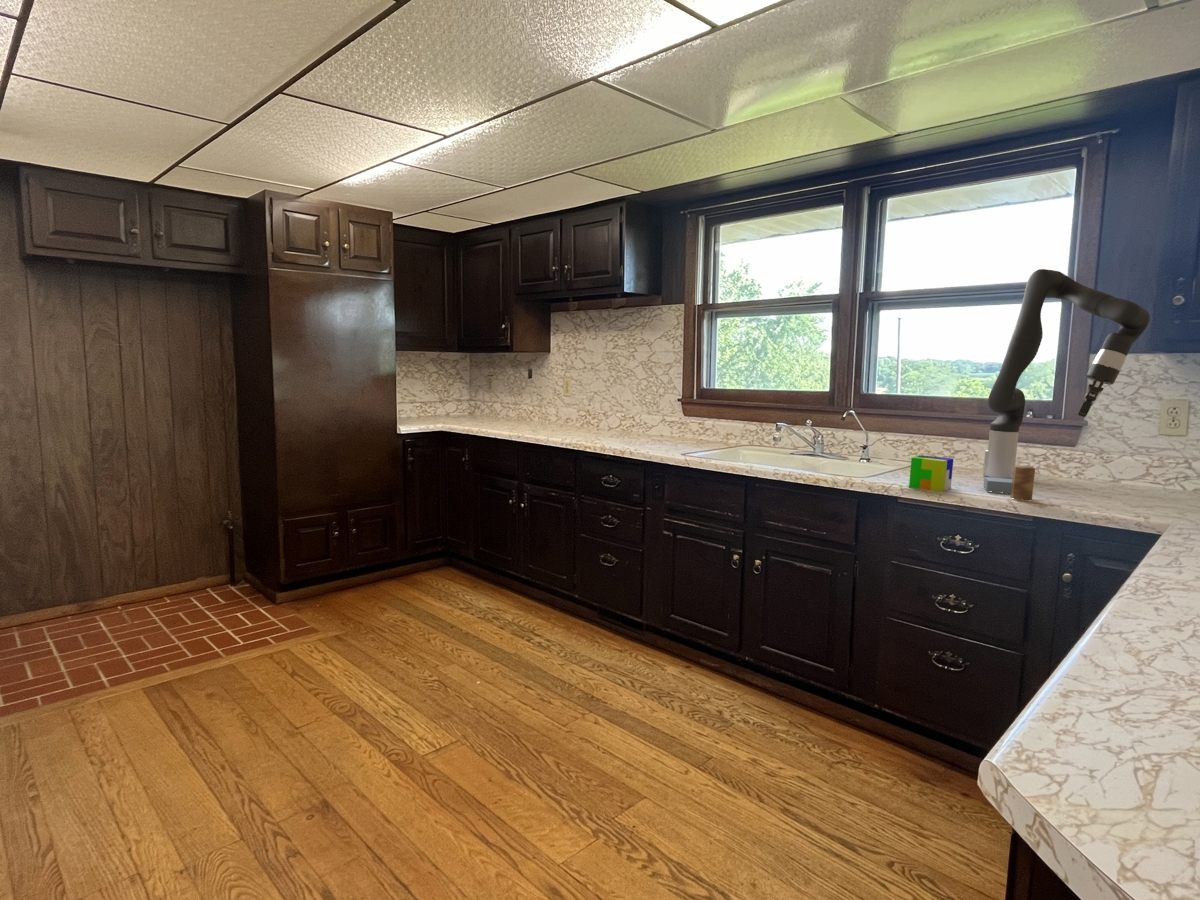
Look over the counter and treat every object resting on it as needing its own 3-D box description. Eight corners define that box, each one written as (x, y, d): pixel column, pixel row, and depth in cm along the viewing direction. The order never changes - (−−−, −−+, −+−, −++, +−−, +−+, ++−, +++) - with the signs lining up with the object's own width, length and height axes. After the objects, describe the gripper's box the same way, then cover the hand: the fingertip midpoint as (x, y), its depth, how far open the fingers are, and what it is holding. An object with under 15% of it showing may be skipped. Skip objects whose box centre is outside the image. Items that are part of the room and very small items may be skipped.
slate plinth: (986, 492, 218) (987, 480, 218) (983, 488, 226) (984, 476, 226) (1018, 495, 215) (1020, 483, 214) (1014, 491, 223) (1015, 479, 222)
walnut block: (1012, 499, 206) (1015, 467, 205) (1010, 496, 210) (1013, 465, 209) (1031, 501, 204) (1035, 468, 203) (1029, 498, 208) (1032, 466, 207)
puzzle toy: (950, 488, 224) (953, 458, 222) (941, 491, 216) (944, 461, 215) (919, 484, 230) (921, 455, 229) (908, 487, 223) (911, 457, 222)
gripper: (1091, 366, 218) (1067, 413, 221) (1094, 359, 207) (1069, 408, 209) (1118, 374, 214) (1094, 421, 217) (1122, 366, 203) (1097, 417, 205)
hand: (1082, 414), depth 213 cm, fingers open, 8 cm apart
